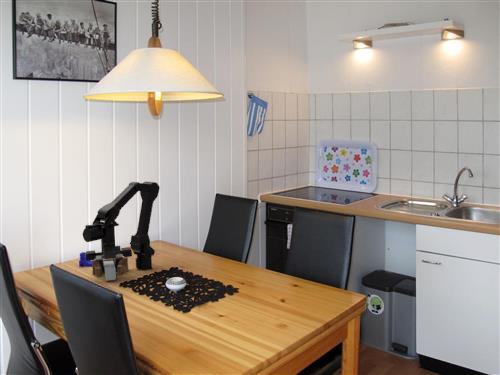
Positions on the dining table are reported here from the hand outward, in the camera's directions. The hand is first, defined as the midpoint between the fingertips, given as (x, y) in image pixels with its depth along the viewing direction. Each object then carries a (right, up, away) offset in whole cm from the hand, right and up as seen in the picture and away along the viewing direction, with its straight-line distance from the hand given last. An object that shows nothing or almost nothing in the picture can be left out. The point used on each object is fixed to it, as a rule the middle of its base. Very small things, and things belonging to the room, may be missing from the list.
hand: (109, 273), depth 218 cm
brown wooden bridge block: (-1, -1, +7) cm, 7 cm away
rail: (0, -1, 0) cm, 1 cm away
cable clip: (-13, 0, +20) cm, 24 cm away
